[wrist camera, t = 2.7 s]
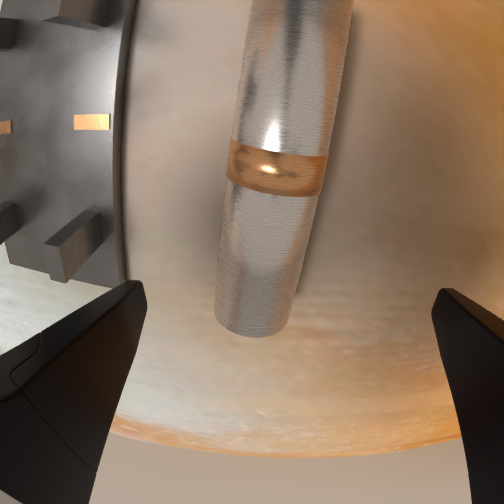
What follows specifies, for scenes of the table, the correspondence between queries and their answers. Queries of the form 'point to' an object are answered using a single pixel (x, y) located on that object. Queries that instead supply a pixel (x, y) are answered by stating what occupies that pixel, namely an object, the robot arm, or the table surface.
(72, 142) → the stand
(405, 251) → the table surface
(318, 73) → the tube
